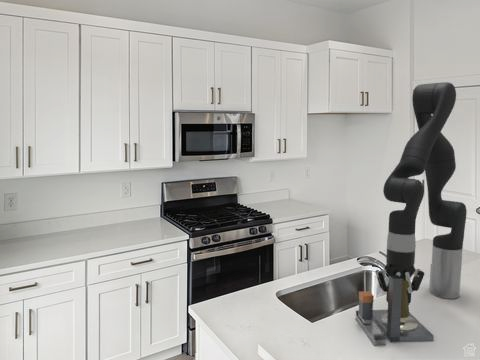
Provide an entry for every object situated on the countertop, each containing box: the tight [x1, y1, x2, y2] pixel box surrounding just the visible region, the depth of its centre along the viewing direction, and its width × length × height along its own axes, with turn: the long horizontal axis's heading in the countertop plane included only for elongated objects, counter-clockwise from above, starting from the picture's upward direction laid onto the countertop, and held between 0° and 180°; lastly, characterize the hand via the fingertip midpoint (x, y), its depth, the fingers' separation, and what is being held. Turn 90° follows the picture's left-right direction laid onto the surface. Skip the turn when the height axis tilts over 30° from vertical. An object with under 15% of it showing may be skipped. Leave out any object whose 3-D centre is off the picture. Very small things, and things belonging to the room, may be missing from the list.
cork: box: [386, 279, 410, 318], centre depth 112 cm, size 6×6×11 cm
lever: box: [358, 290, 375, 324], centre depth 113 cm, size 5×3×8 cm, turn 2°
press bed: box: [372, 275, 435, 343], centre depth 112 cm, size 16×12×18 cm
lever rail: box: [355, 309, 387, 346], centre depth 110 cm, size 15×3×3 cm, turn 2°
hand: (398, 304), depth 112 cm, fingers closed on cork, 4 cm apart
